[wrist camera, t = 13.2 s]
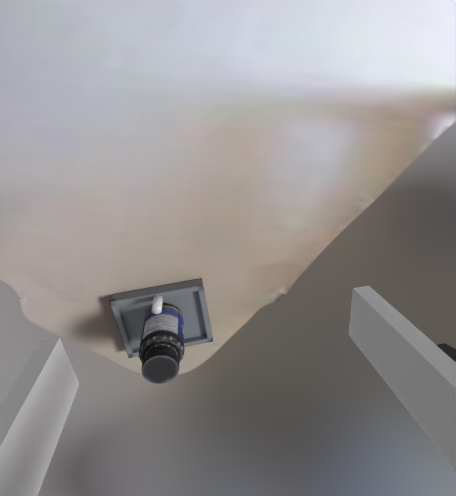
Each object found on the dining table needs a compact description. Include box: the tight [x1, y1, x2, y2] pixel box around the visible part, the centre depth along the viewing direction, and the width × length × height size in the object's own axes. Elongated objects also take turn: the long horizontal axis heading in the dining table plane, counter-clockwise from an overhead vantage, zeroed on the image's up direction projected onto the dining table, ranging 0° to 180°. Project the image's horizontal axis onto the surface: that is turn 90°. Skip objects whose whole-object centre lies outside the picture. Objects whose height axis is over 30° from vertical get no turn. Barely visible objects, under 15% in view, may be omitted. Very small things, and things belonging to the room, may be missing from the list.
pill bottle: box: [139, 303, 184, 383], centre depth 42 cm, size 6×6×11 cm
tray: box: [110, 278, 213, 358], centre depth 46 cm, size 14×11×5 cm
